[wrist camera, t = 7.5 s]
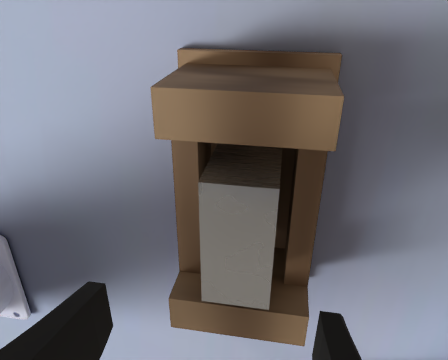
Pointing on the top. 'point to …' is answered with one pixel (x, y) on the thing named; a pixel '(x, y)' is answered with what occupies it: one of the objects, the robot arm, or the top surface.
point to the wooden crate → (255, 136)
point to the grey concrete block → (239, 224)
